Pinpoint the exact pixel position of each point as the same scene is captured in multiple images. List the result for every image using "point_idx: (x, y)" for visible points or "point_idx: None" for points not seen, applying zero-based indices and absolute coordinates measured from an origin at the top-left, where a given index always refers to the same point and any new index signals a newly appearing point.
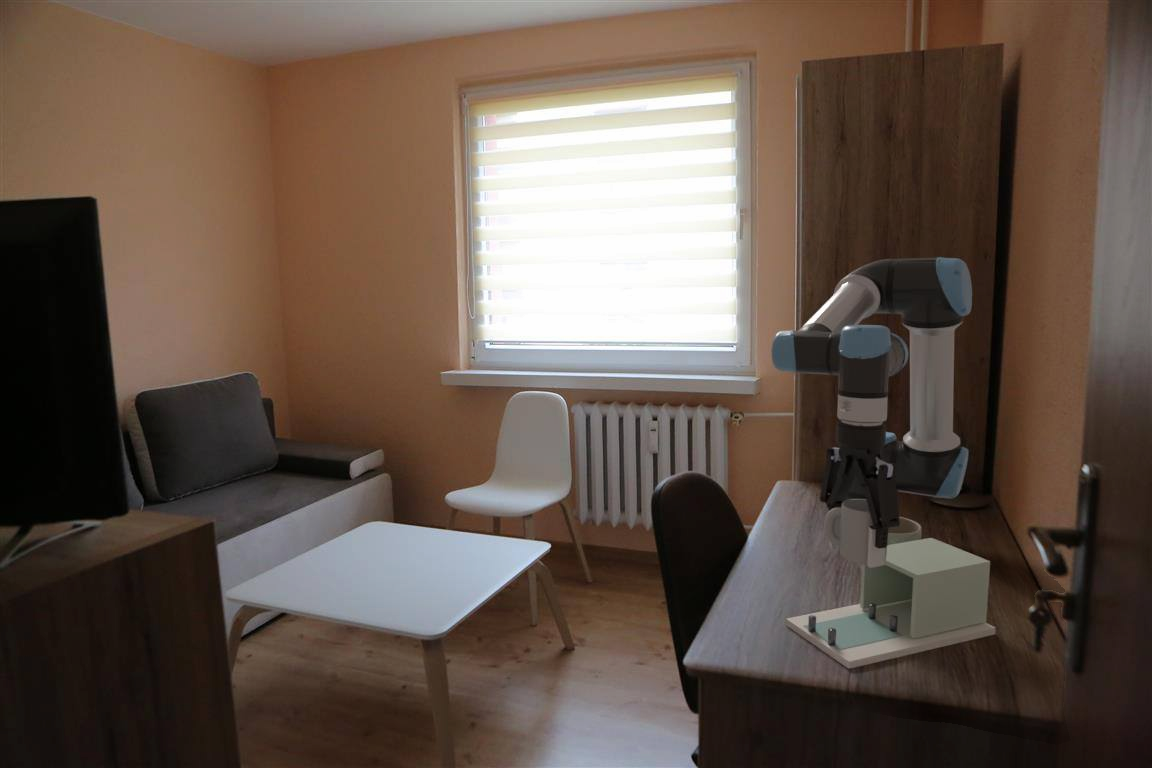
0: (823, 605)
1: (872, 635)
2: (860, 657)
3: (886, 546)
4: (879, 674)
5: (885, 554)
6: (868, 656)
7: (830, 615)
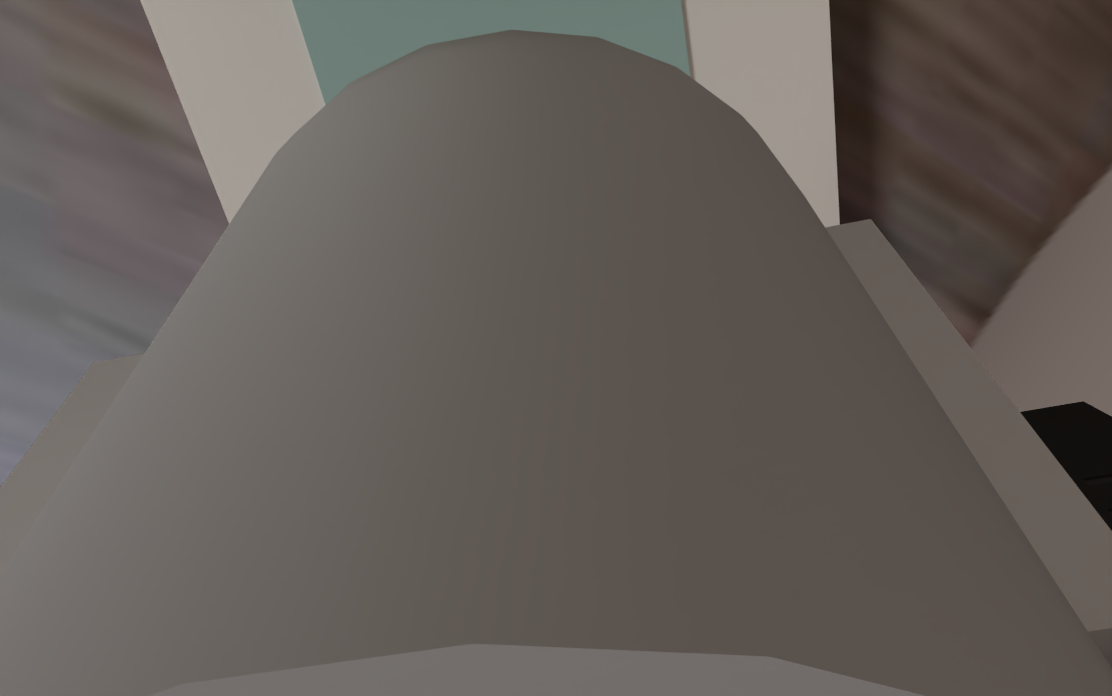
0: (3, 29)
1: (604, 3)
2: (826, 221)
3: (1098, 414)
4: (935, 155)
5: (783, 168)
6: (831, 171)
7: (269, 127)
